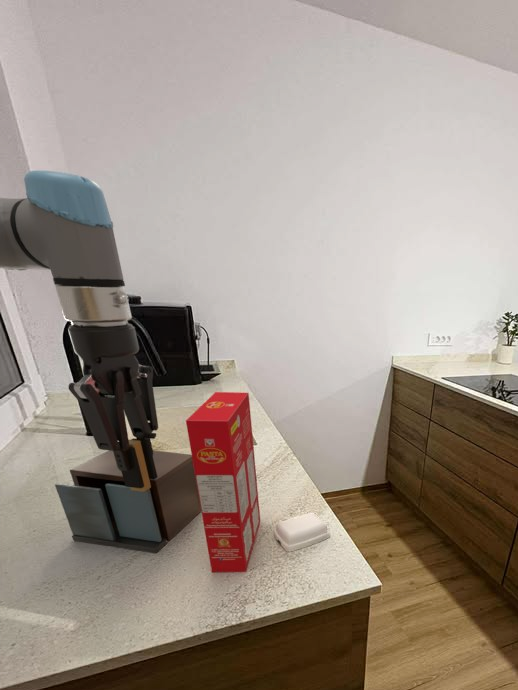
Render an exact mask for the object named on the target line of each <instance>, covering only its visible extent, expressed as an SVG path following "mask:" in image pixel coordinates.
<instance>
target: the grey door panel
mask: <svg viewBox="0 0 518 690" xmlns="http://www.w3.org/2000/svg"><path fill="white" fill-rule="evenodd" d="M128 440H129V447H134V448H135V451H136V455H137V459H138V463H139V466H140V470H141V474H142V478H143V482H144V487H143V488H133V487H126V486H123V485H115V484H106V485H105V487H106V490H107V494H108V497H109V500H110V504H111V507H112V511H113V514H114V517H115V521H116V524H117V528H118V531H119V534H120V536H122V537H129V538H136V539H142V540H149V541H156V542H160V541H162V539H161V535H160V530H159V526H158V522H157V518H156V514H155V509H154V505H153V501H152V497H151V493H150V489H149V488H151V485H150V480H149V476H148V472H147V468H146V463H145V459H144V455H143V451H142V446H141V442H140V441H137V440H131V439H128Z"/></svg>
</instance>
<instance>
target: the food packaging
mask: <svg viewBox="0 0 518 690" xmlns="http://www.w3.org/2000/svg"><path fill="white" fill-rule="evenodd" d="M185 425H186V430H187V435H188V436H187V437H188V441H189V447H190V455H192V459H193V465H194V471H195V477H196V483H197V488H198V494H199V500H200V506H201V512H200V513H201V517H202V524H203V529H204V535H205V541H206V545H207V546H206V547H207V550H208V558H209V564H210V569H211V573H246V572H247V569H248V566H249V562H250V559H251V555H252V552H253V549H254V545H255V541H256V538H257V534H258V531H259V527H260V524H261V512H260V503H259V502H260V501H259V492H258V481H257V470H256V460H255V459H256V458H255V447H254V435H253V426H252V415H251V405H250V394H249V392H237V391H236V392H235V391H233V392H232V391H215V392H214V393H213V394H212V395H210V397H208V398H207V399H206V401H204V402H203V403H202V404H201V405H200V406H199V407H198V408H197V409H196V410H195V411H194V412H193V413H192V414H191V415H190V416H189V417H188V418H187V419H185Z"/></svg>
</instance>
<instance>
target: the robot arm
mask: <svg viewBox="0 0 518 690" xmlns="http://www.w3.org/2000/svg"><path fill="white" fill-rule="evenodd" d="M23 181H24V186H25V195H26V198H7V197H0V269H3V270H9V271H11V270H13V271H14V270H16V271H27V270H31V271H33V270H34V271H36V270H38V271H39V270H49V271H50V272H51V275H52V281H53V284H54V285H55V286H54V287H55V290H56V294H57V297H58V300H59V304H60V308H61V311H62V315H63V317H64V318H63V319H64V320H66V321H68V322H70V325H68V328H67V330H68V336H69V338H70V341H71V344H72V348H73V352H74V353H75V354H76V356H78V357H79V358H80V359H81V360H82V375H83V376H82V377H81V378H80V379H79V381H77V382H69V384H68V390H69V392H70V393H71V394H72V395H73V397H74V398H75V399H76V400H77V401H78V404H79V406H80V408H81V411H82V414H83V416H84V418H85V420H86V423H87V425H88V427H89V429H90V432H91V435H92V437H93V439H94V441H95V444H96V447H97V448H98V450H102V451H109V450H110V451H113V453H114V457H115V460H116V464H117V467H118V469H119V470H121V472H122V475H123V479H124V483H125V486H126V487H133V488H143V487H144V482H143V478H142V474H141V470H140V466H139V463H138V459H137V455H136V451H135V448H134V447H129V440H137V441H140V442H141V446H142V451H143V455H144V459H145V463H146V468H147V472H148V476H149V479H156V478H157V472H156V468H155V464H154V460H153V450H154V449H153V444H152V440H155V439H156V437H157V433H156V432H154V431H158V429H159V423H158V415H157V408H156V400H155V399H156V398H155V393H154V386H153V380H154V379H153V378H154V368H153V367H152V366H151V365H142V364H140V363H139V360H138V359H137V357H136V355H135V354H138V352H139V350H140V345H139V341H138V338H137V337H138V336H137V333H136V327H135V326H133V324H132V323H129V322H128V321H131V320H132V318H133V316H132V311H131V308H130V304H129V298H128V295H127V290H126V284H125V280H124V275H123V269H122V266H121V261H120V256H119V251H118V246H117V243H116V238H115V234H114V233H115V232H114V222H113V221H112V218H111V215H110V211H109V207H108V204H107V201H106V197H105V194H104V191H103V190H102V188H101V186H100V185H99V184H98V183H96V182H95V181H93V180H92V179H90V178H87V177H84V176H81V175H77V174H74V173H73V174H72V173H67V172H61V171H54V170H53V171H52V170H30V171H28V172H27V173H26V174H25V175H24V178H23ZM126 420H127V421H126ZM127 423H128V425H129V428H130V431H131V433H132V436H133V437H134V438H131V439H129V434H128V433H129V432H128V428H127Z"/></svg>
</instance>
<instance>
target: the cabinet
mask: <svg viewBox="0 0 518 690" xmlns="http://www.w3.org/2000/svg"><path fill="white" fill-rule="evenodd" d="M153 460H154V464H155V468H156V472H157V478H156V479H149V480H150V485H151V488H149V489H150V493H151V497H152V501H153V505H154V509H155V514H156V518H157V522H158V526H159V530H160V535H161V539H162V541H160V542H156V541H149V540H142V539H136V538H129V537H122V536H120V534H119V531H118V528H117V524H116V521H115V517H114V514H113V511H112V507H111V504H110V500H109V497H108V494H107V490H106V487H105V485H106V484H115V485H123V486H125V483H124V479H123V475H122V472H121V470H119V469H118V467H117V464H116V460H115V457H114V453H113V451H110V450H106V451H104V452H103V453H101V454H99V455H97V456H95V457H93V458H91V459H88V460H87V461H85V462H82V463H80V464H79V465H76V466H74V467H72V468H70V469H69V473H70V475H71V480H72V482H73V484H69V483H68V484H66V483H60V482H57V483H56V484H54V487H55V490H56V492H57V494H58V497H59V500H60V503H61V506H62V509H63V511H64V514H65V517H66V520H67V523H68V525H69V528H70V531H71V533H72V535H71V539H72V540H73V541H75V542H81V543H89V544H94V545H101V546H108V547H113V548H114V547H115V548H121V549H125V550H126V549H127V550H132V551H140V552H145V553H146V552H147V553H153V554H157V553H158V552H159V551H161V550H162V549H163V548H164V547H165V546H166V545H167V544H168V542H170V541H171V540H173V538H174V537H175V536H177V535H178V534H179V533H180V532H181V531H182V530H183V529H184V528H185V527H186V526H187V525H188V524H190V522H191V521H193V520H194V519H195V518H196V517H197V516H198V515H199V514H200V513H202V512H201V506H200V500H199V494H198V488H197V483H196V477H195V471H194V465H193V459H192V454H191V453H190V454H189V453H182V452H181V453H180V452H171V451H163V450H155V449H153Z"/></svg>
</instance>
